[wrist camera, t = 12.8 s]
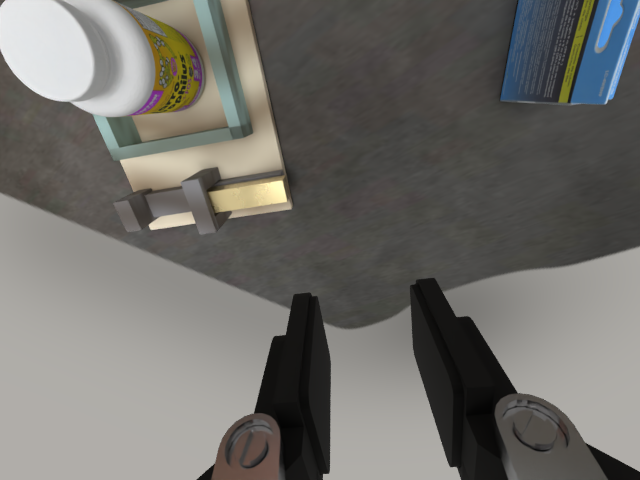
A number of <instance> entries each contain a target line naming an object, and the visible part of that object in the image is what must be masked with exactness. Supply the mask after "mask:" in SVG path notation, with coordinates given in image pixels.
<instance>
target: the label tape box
mask: <svg viewBox="0 0 640 480" xmlns="http://www.w3.org/2000/svg"><path fill="white" fill-rule="evenodd" d="M639 17H640V0H519V1H518V6H517V12H516V17H515V22H514V28H513V33H512V38H511V44H510V49H509V55H508V60H507V65H506V71H505V76H504V81H503V87H502V92H501V98H500V101H502V102H521V103H541V104H554V105H577V104H606V103H607V101H608V100H611V99H612V98H613V96H614V93H615V90H616V87H617V84H618V81H619V78H620V75H621V72H622V69H623V66H624V62H625V59H626V56H627V53H628V50H629V47H630V44H631V41H632V38H633V35H634V32H635V29H636V26H637V23H638V20H639Z"/></svg>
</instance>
